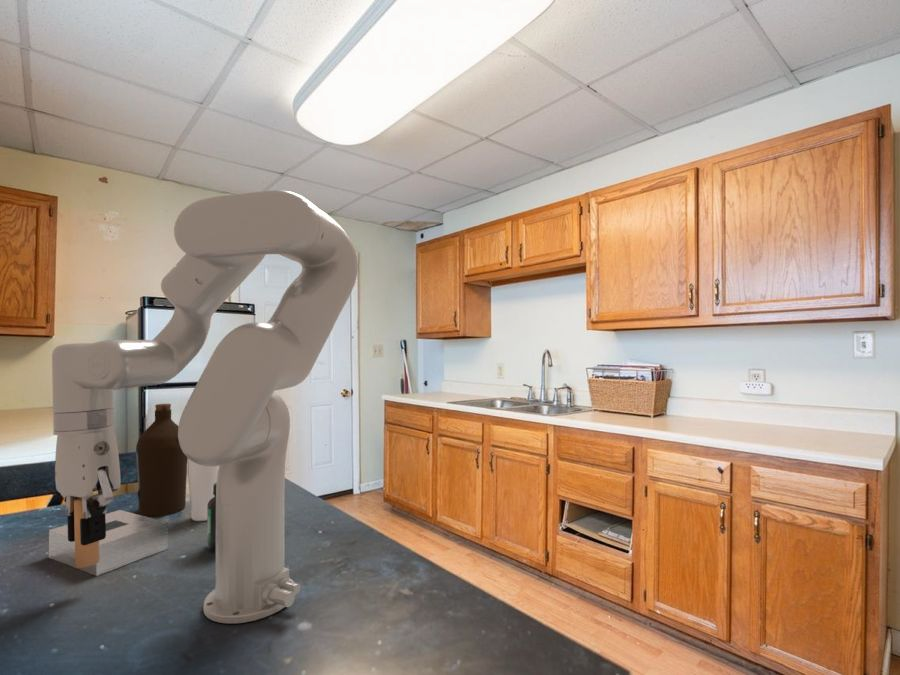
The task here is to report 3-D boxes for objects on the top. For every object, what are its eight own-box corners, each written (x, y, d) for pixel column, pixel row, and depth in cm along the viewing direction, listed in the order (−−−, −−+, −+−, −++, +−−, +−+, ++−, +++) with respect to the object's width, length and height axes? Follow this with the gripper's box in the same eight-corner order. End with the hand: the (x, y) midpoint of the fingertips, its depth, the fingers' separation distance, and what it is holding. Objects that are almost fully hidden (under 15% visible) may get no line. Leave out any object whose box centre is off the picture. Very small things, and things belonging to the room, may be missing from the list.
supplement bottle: (202, 555, 87) (202, 489, 87) (213, 540, 93) (213, 479, 94) (242, 551, 88) (242, 486, 88) (249, 537, 95) (249, 477, 95)
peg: (103, 560, 74) (102, 496, 74) (81, 569, 71) (80, 502, 72) (93, 557, 75) (91, 494, 76) (71, 565, 73) (69, 500, 73)
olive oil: (194, 501, 118) (195, 401, 118) (178, 516, 107) (178, 406, 108) (148, 504, 116) (148, 402, 116) (126, 519, 105) (127, 407, 106)
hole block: (167, 548, 89) (167, 522, 90) (96, 576, 79) (96, 545, 79) (119, 534, 97) (119, 509, 97) (48, 557, 86) (49, 530, 86)
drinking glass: (227, 516, 107) (227, 449, 107) (198, 525, 101) (198, 455, 102) (210, 510, 111) (210, 446, 111) (181, 519, 105) (181, 452, 105)
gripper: (139, 419, 74) (142, 538, 73) (84, 417, 81) (86, 525, 81) (84, 427, 67) (87, 558, 66) (29, 424, 74) (31, 541, 74)
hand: (87, 539), depth 74 cm, fingers closed on peg, 3 cm apart
